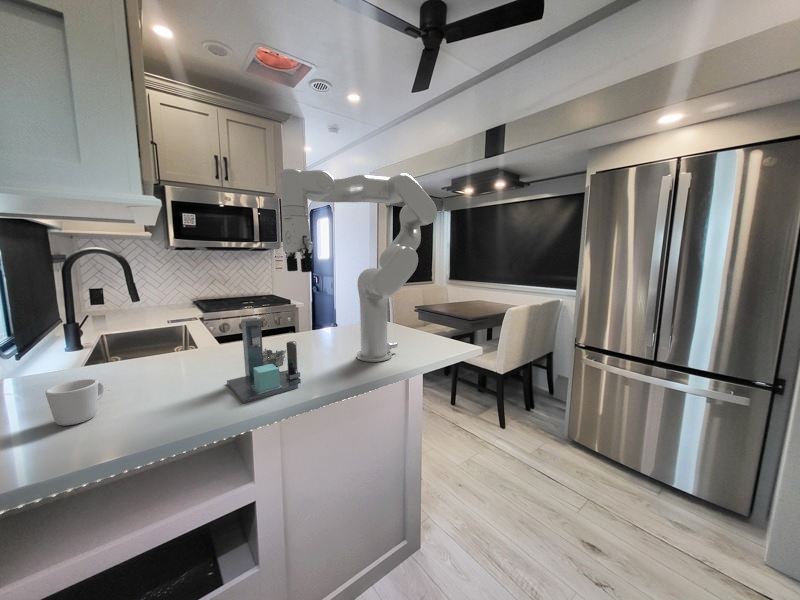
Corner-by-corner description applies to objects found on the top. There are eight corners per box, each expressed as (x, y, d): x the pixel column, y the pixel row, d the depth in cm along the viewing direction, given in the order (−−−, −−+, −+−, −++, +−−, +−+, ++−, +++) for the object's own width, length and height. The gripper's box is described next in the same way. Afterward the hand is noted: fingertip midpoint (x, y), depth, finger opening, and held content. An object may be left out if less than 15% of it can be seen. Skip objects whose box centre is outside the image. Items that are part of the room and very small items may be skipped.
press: (283, 370, 100) (280, 314, 97) (305, 385, 88) (302, 322, 86) (226, 383, 89) (221, 321, 87) (243, 403, 77) (237, 332, 75)
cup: (86, 406, 76) (81, 374, 75) (121, 405, 77) (117, 373, 76) (39, 430, 66) (33, 394, 65) (80, 429, 66) (74, 392, 65)
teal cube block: (273, 380, 88) (272, 363, 87) (280, 386, 84) (279, 368, 84) (254, 385, 85) (253, 367, 84) (260, 391, 81) (259, 373, 80)
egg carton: (265, 358, 112) (264, 347, 112) (287, 357, 114) (286, 346, 113) (258, 369, 102) (257, 356, 101) (283, 367, 104) (282, 355, 103)
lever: (296, 374, 93) (294, 340, 92) (300, 376, 91) (298, 342, 90) (286, 376, 91) (284, 342, 90) (290, 379, 89) (288, 344, 88)
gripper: (271, 216, 98) (276, 271, 100) (296, 209, 85) (300, 273, 88) (294, 217, 103) (298, 270, 105) (321, 211, 90) (324, 271, 93)
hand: (299, 271), depth 97 cm, fingers open, 9 cm apart
